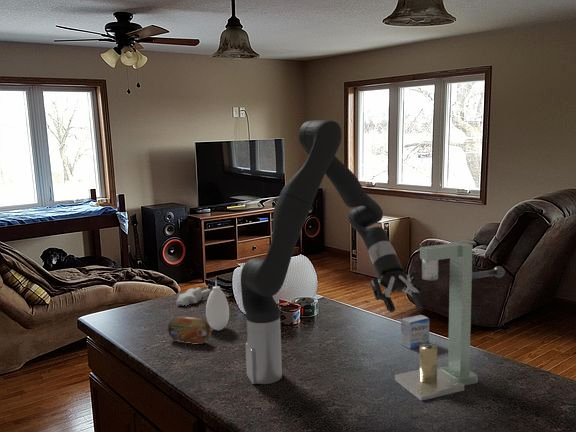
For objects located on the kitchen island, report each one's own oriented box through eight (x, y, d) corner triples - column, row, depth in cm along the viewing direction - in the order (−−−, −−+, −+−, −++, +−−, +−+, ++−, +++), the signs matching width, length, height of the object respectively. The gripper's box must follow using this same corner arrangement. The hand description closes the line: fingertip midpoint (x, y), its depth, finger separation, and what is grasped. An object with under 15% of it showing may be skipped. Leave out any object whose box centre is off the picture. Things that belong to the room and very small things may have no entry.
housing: (426, 384, 132) (426, 350, 131) (415, 377, 137) (416, 344, 135) (440, 381, 134) (441, 347, 133) (430, 374, 138) (430, 341, 137)
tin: (168, 341, 171) (166, 316, 170) (173, 337, 174) (172, 313, 172) (207, 346, 165) (206, 321, 164) (212, 343, 168) (211, 318, 167)
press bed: (421, 400, 128) (422, 255, 122) (394, 380, 139) (395, 245, 133) (516, 377, 138) (521, 242, 132) (484, 360, 149) (488, 234, 143)
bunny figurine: (170, 296, 207) (195, 282, 219) (172, 307, 208) (197, 293, 221) (187, 299, 202) (212, 285, 214) (189, 311, 203) (214, 296, 215)
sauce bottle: (234, 327, 181) (231, 278, 178) (219, 335, 174) (217, 283, 172) (217, 324, 185) (214, 275, 182) (202, 331, 179) (199, 280, 176)
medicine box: (409, 349, 158) (410, 322, 157) (400, 344, 162) (400, 318, 161) (429, 344, 162) (429, 317, 160) (419, 339, 166) (420, 313, 164)
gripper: (367, 255, 146) (389, 306, 137) (410, 250, 151) (434, 299, 142) (359, 269, 152) (379, 319, 143) (400, 264, 157) (422, 311, 148)
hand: (406, 309), depth 143 cm, fingers open, 8 cm apart
